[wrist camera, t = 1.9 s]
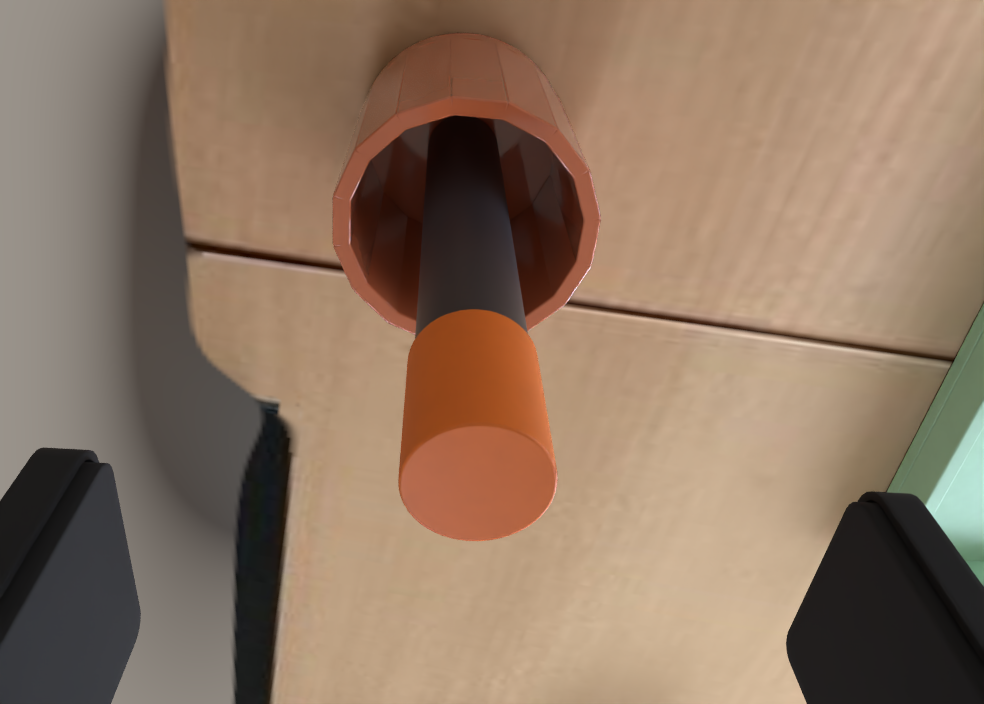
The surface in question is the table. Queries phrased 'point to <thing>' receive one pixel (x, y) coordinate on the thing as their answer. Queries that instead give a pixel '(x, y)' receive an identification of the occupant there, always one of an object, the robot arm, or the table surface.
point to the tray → (953, 453)
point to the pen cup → (403, 162)
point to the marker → (472, 356)
